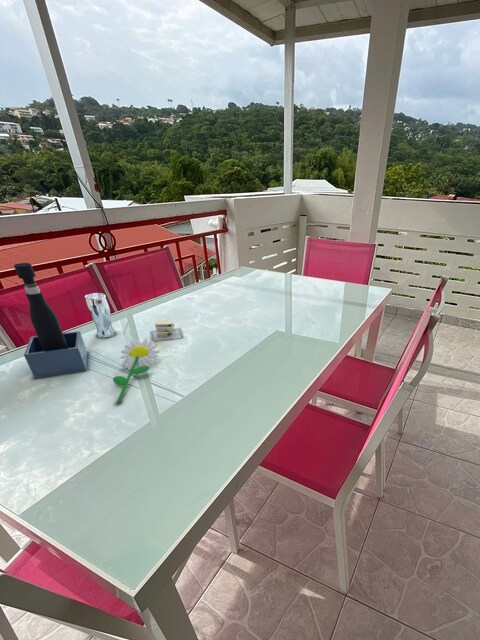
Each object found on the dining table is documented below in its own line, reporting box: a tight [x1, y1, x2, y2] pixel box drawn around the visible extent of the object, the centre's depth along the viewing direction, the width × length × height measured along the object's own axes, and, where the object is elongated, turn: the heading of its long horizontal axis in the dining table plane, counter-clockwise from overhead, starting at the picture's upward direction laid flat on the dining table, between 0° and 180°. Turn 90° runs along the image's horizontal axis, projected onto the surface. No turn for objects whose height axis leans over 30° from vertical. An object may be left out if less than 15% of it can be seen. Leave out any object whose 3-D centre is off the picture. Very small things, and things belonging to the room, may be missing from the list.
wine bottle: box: [13, 262, 68, 351], centre depth 98 cm, size 6×6×30 cm
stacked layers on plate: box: [151, 318, 182, 342], centre depth 128 cm, size 10×9×6 cm
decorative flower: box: [112, 338, 161, 404], centre depth 103 cm, size 13×5×30 cm
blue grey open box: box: [23, 330, 88, 379], centre depth 105 cm, size 14×14×8 cm
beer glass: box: [84, 292, 116, 338], centre depth 123 cm, size 7×7×15 cm
